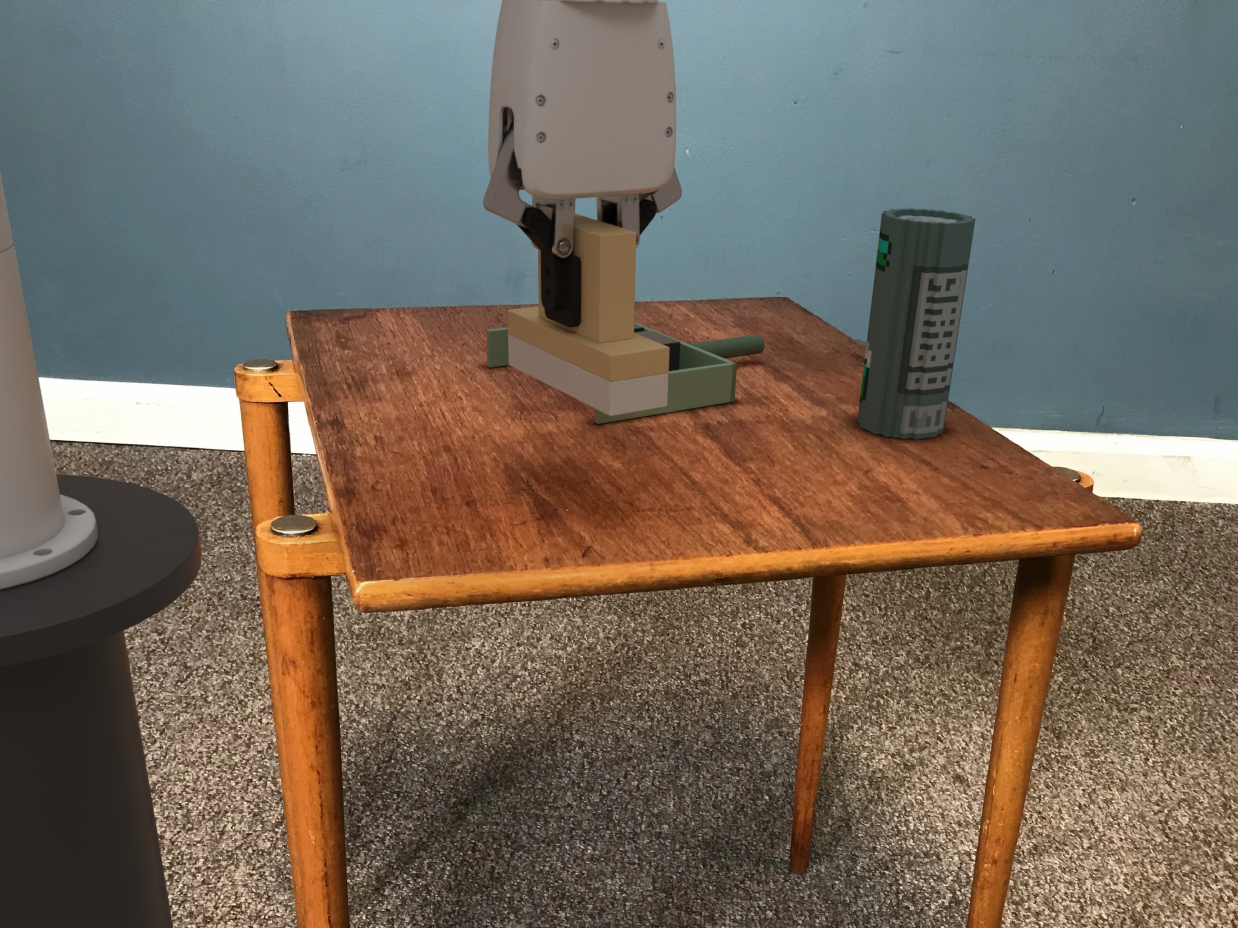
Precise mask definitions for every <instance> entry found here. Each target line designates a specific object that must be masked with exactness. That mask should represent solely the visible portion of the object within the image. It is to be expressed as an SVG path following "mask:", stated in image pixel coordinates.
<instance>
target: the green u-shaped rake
mask: <svg viewBox="0 0 1238 928" xmlns="http://www.w3.org/2000/svg"><path fill="white" fill-rule="evenodd" d="M634 324H637V325H639V326H642V327H644V331H651V330H652V331H654V332H657V333H659V334H662V335H664V336H667V337H669V338H672V339H674V340H677V341H679V342H680V362H679V370H675V371H669V372H668V399H667V406H665V407H660V408H654V409H648V410H643V411H637V412H631V413H625V414H620V415H614V416H609V415H607V414H605V413H603V412H601V411H599V410H597V409H595V408H594V415H593V416H594V418H593V419H594V423H595V424H597V425H601V424H606V423H613V422H619V421H625V420H630V419H631V420H632V419H637V418H643V417H650V416H654V415H661V414H667V413H673V412H680V411H685V410H691V409H697V408H704V407H710V406H717V405H721V404H728V403H733V402H736V401H735V399H736V386H737V385H736V384H737V374H738V373H737V371H738V363H737V362H734V361H732V360H729V359H731V358H732V359H733V358H739V357H747V356H753V355H760V354H762V353H763V352H764V350H765V345H766V344H765V339H764V337H763V336H762V335H761V334H749V335H744V336H736V337H729V338H721V339H713V340H706V341H699V342H690V343H688V342H685V341H682V340H679V339H677V338H675V337H672V336H670V335H668V334H665V333H663V332H660V331H657V330H655V329H652V328H650V327H647V326H646V325H642V324H640V323H637V322H635V321H634ZM486 366H487V367H488V368H489V369H490V368H497V367H506V366H510V365H509V355H508V326H506V327H499V328H498V327H497V328H492V329H491V328H490V329H486Z"/></svg>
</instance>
